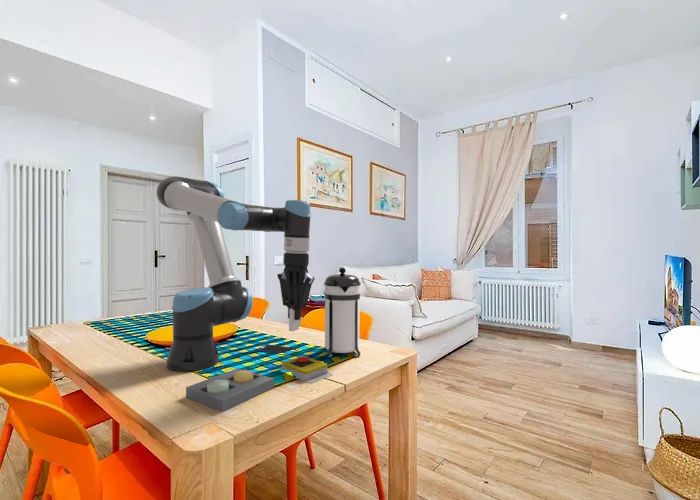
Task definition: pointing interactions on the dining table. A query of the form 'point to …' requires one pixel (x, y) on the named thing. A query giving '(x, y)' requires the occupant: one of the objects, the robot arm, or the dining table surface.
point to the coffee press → (342, 313)
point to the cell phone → (275, 349)
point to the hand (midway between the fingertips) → (293, 329)
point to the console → (234, 394)
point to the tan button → (243, 376)
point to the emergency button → (307, 369)
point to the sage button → (217, 386)
